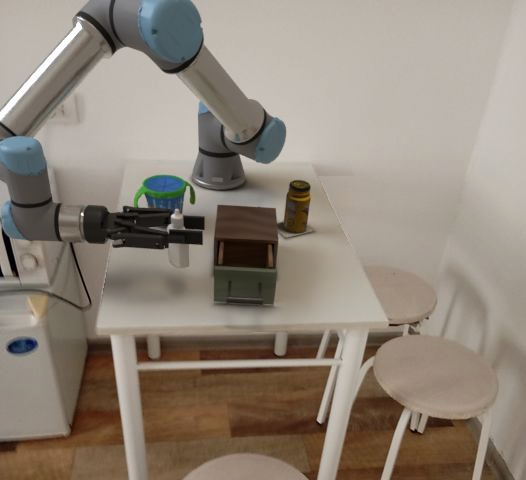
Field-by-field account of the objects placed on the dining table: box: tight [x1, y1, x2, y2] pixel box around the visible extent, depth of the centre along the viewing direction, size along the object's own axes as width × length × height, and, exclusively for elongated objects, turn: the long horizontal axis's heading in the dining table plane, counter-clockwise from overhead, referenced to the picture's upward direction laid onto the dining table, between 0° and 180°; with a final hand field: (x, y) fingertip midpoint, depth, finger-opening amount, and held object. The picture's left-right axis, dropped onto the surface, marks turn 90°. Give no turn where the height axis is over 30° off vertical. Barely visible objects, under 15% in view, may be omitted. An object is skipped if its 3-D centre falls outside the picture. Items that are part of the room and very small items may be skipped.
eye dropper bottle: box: [166, 209, 190, 270], centre depth 112 cm, size 4×6×12 cm
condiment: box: [277, 179, 314, 238], centre depth 139 cm, size 7×8×12 cm
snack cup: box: [133, 174, 196, 228], centre depth 137 cm, size 16×10×10 cm
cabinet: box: [213, 204, 279, 277], centre depth 126 cm, size 16×14×10 cm
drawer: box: [213, 241, 278, 306], centre depth 115 cm, size 21×12×8 cm, turn 1°
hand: (203, 230), depth 112 cm, fingers closed on eye dropper bottle, 5 cm apart
